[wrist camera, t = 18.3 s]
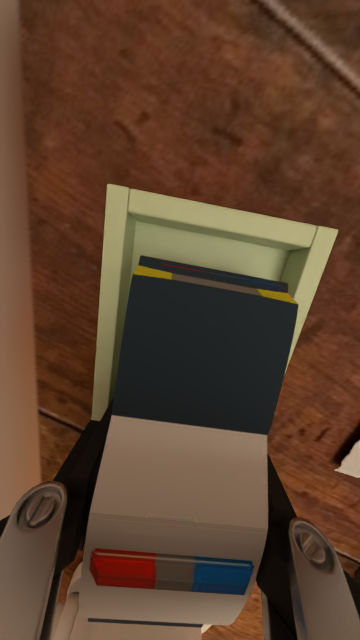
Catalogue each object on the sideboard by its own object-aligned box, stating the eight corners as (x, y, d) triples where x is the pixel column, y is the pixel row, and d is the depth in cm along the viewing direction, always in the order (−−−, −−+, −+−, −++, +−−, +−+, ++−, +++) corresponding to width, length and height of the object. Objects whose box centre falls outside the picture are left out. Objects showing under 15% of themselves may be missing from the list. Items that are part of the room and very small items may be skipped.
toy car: (265, 281, 8) (399, 292, 3) (192, 541, 12) (205, 728, 7) (147, 258, 8) (103, 234, 3) (109, 534, 11) (62, 726, 7)
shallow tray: (97, 498, 14) (83, 537, 12) (124, 202, 9) (106, 182, 7) (212, 515, 14) (216, 556, 12) (304, 237, 9) (339, 229, 7)
